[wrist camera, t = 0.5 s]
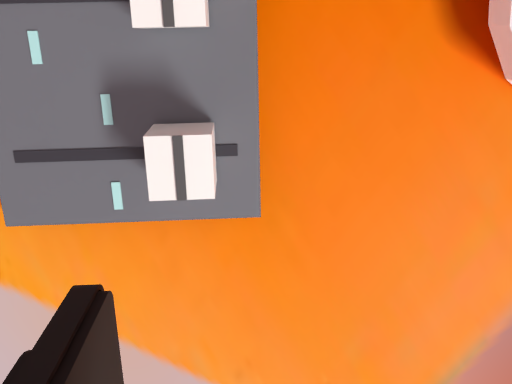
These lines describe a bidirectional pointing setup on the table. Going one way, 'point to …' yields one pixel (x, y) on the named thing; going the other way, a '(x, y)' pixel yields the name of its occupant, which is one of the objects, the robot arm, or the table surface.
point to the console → (121, 109)
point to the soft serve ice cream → (502, 33)
